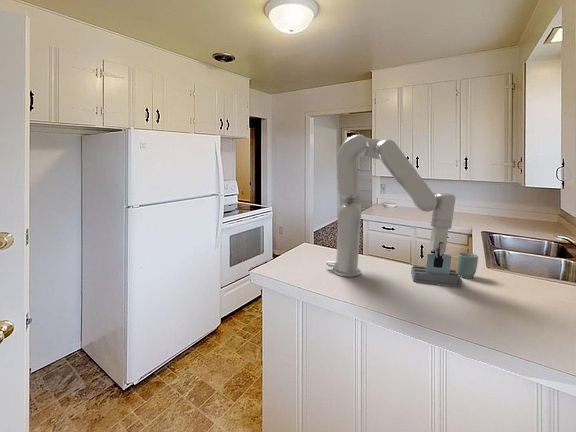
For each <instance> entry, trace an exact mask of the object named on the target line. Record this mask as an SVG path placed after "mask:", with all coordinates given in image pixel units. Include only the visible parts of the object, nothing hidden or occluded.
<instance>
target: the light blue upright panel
mask: <svg viewBox="0 0 576 432" xmlns="http://www.w3.org/2000/svg"><path fill="white" fill-rule="evenodd" d="M435 257H436V253H431V252H426V261H425V273H434V274H443V275H449V273H450V269H451V263H452V255H451V254H445V253H444V259H443V266H442V268H437V267H434V266H433V265H434V258H435Z"/></svg>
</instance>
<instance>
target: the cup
mask: <svg viewBox="0 0 576 432" xmlns="http://www.w3.org/2000/svg"><path fill="white" fill-rule="evenodd" d="M478 264H479V255H478V254H475V253H471V252H464V251H462V252H461V251H460V252H458V253H457V258H456V273H458V275H459V276H460V277H462V278H465V279H471V278H474V276H475V275H476V272H477V269H478Z"/></svg>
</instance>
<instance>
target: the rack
mask: <svg viewBox="0 0 576 432" xmlns="http://www.w3.org/2000/svg"><path fill="white" fill-rule="evenodd" d="M425 267H426V265H425V266H423V265H414V264H413V265H412V266H411V267H410V269H411V270H410V271H411V272H410V275H411V274H412V275H411V277H412V282H413V283H419V282H422V283H421V284H427V283H431V284H430V285H435V284H440V285H439V286H444V285H448V286H447V287H452V286H455V287H454V288H460V287H461V288H462V285H463V280H462V278H461V276H460V275H459V274H458V273H457V269H451V268H450V273H449V275H443V274H434V273H425Z"/></svg>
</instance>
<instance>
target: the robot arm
mask: <svg viewBox="0 0 576 432" xmlns="http://www.w3.org/2000/svg"><path fill="white" fill-rule="evenodd" d="M359 157H360V158H361V157H362V158H367V159H373V160H380V161H381V163H382V164H383V165H384V166H385V168H386V169H387V171H388V172H389V173H390V174H391V176H392V177H393V179H394V180H395V182H397V184H399V185H400V186H401V187H402V188H403V189H404V191H405V192H406V194H408V195H409V197H410V198H411V199H412V201H413V204H414V206H415V207H416V208H418V209H419V210H420V211H422V212H429V213H430V212H432V215H431V221H430V226H431V227H432V229H431V234H430V239H429V244H428V246H429V248H430V250H431V251H430V253H436V257H435V258H434V265H433V266H434V267H437V268H442V266H443V259H444V254H445V253H446V251H447V244H448V243H447V242H448V236H449V230H451V229H452V225H453V219H454V211H455V204H456V195H455V194H453V193H447V192H438V193H437V192H433V191H432V190H431V188H430V187H429V186H428V184H427V183H426V182H425V180H424V179H423V178H422V176H420V174H419V173H418V171H417V170H416V169H415V167H414V166H413V164H412V163H411V162H410V160H409V158H407V157H406V155H405V154H404V152H403V151H402V150H401V148H400V147H399V146H398V144H397V143H396V142H395V141H394V140H392V139H389V138H387V139H386V138H385V139H376V138H371V137H366V136H365V135H363V134H355V135H351V136H350V137H349V138H347V139H346V140H345V141H344V142H342V144H341V146H339V150H338V151H337V155H336V172H337V173H336V174H337V191H338V194H339V204H340V207H339V210H338V214H337V236H336V237H337V242H336V243H337V244H336V245H337V246H336V260H334V261H331V260H326V264H325V265H326V266H328V267H331V268H332V269H331V270H332V272H333V274H335V275H337V276H340V277H346V278H355V277H358V276H360V275H361V273H362V271H361V269H360V268H359V255H360V254H359V251H360V235H361V233H360V232H361V221H362V195H361V193H362V192H361V184H360V182H359V175H358V159H359Z"/></svg>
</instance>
